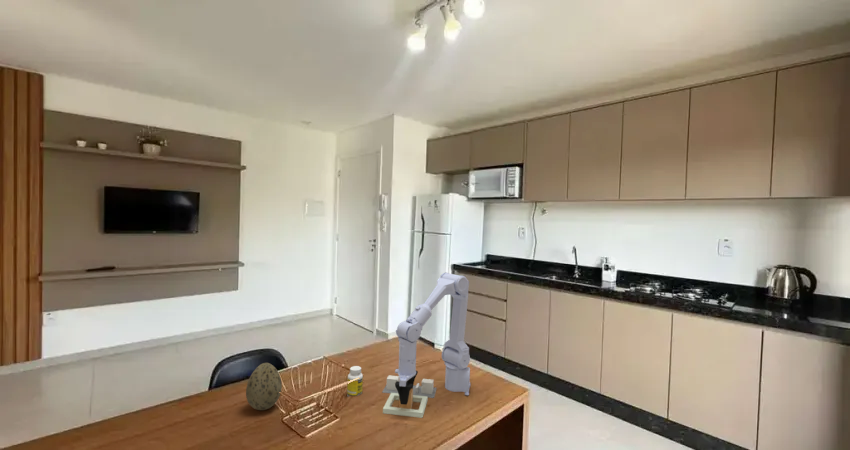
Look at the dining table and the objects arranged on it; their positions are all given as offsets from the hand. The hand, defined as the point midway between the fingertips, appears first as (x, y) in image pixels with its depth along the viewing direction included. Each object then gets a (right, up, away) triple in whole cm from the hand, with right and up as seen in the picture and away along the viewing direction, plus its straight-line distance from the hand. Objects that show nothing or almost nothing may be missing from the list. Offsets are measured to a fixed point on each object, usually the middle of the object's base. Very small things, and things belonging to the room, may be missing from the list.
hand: (406, 398), depth 124 cm
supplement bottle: (-19, -3, +9) cm, 21 cm away
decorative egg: (-47, -3, -2) cm, 47 cm away
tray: (0, -4, 0) cm, 4 cm away
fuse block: (+1, -4, +12) cm, 13 cm away
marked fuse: (0, -3, 0) cm, 3 cm away
